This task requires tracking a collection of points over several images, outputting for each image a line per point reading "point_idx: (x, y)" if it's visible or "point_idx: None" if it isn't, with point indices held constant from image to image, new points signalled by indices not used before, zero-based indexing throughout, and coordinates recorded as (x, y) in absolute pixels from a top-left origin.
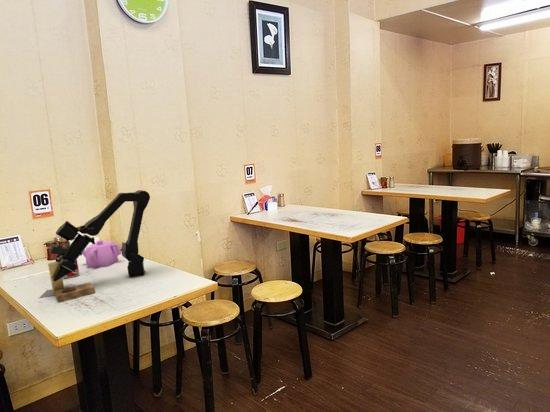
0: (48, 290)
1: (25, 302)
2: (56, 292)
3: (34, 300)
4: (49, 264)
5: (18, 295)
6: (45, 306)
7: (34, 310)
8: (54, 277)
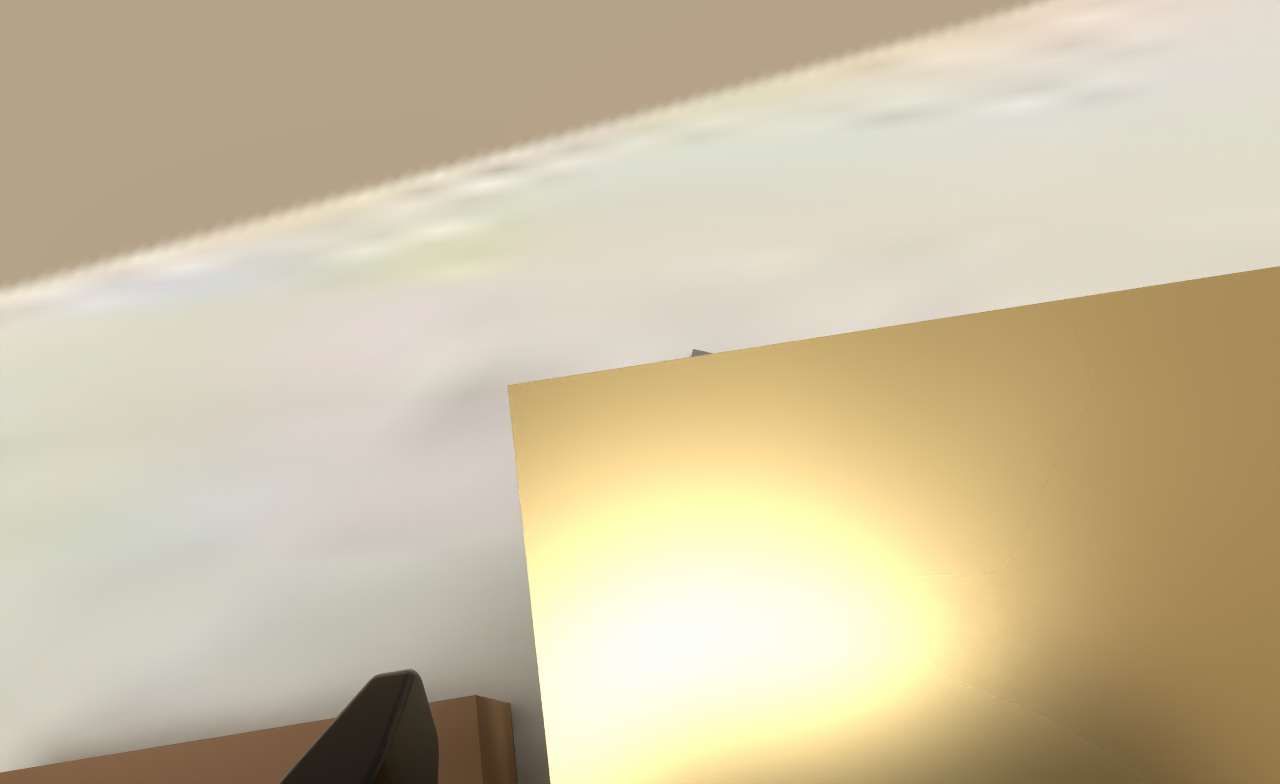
0: None
1: (663, 160)
2: (278, 746)
3: (672, 291)
4: (956, 404)
5: (1203, 12)
6: (95, 515)
7: (38, 344)
8: (308, 753)
